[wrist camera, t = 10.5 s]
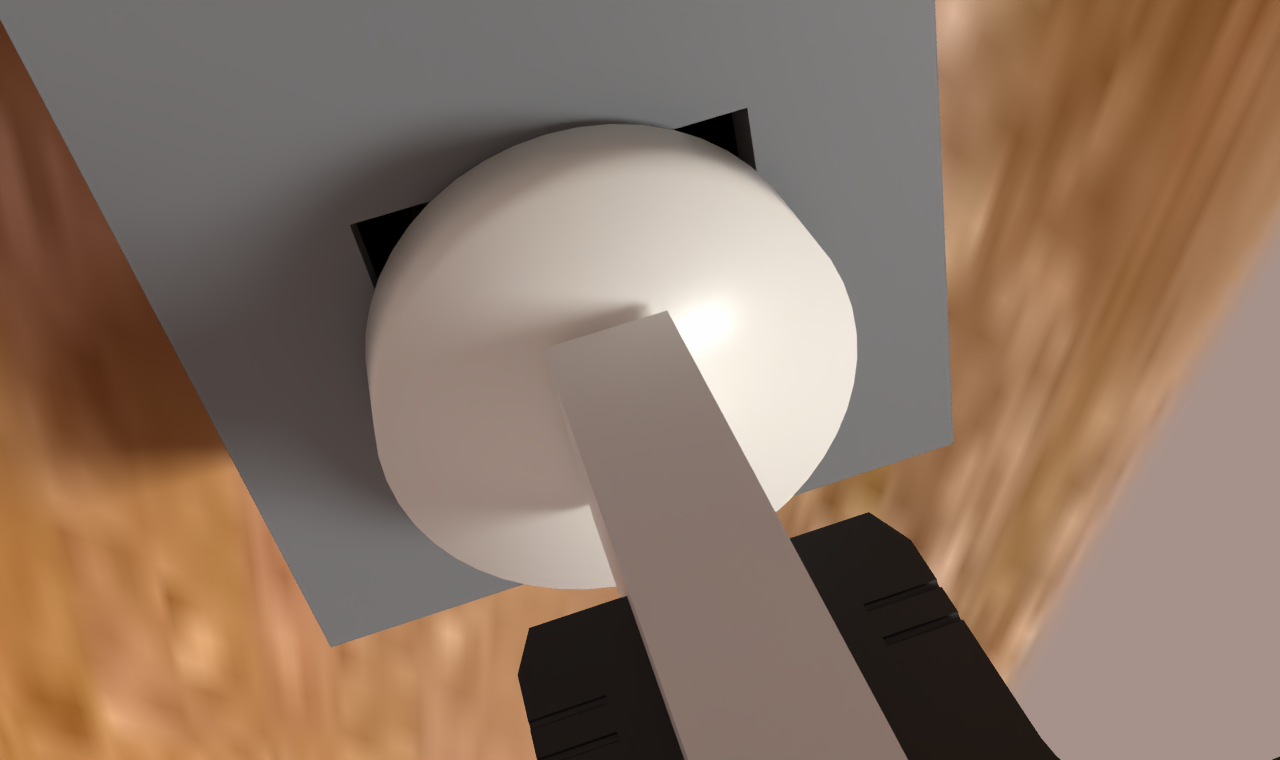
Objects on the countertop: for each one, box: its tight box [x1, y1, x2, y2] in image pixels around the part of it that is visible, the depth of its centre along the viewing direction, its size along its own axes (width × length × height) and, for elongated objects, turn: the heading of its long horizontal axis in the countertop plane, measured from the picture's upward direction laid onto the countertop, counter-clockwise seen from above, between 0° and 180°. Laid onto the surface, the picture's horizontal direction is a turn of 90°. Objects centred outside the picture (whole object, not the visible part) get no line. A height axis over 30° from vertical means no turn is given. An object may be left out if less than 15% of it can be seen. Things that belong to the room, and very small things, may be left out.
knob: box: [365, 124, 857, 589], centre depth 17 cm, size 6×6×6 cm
